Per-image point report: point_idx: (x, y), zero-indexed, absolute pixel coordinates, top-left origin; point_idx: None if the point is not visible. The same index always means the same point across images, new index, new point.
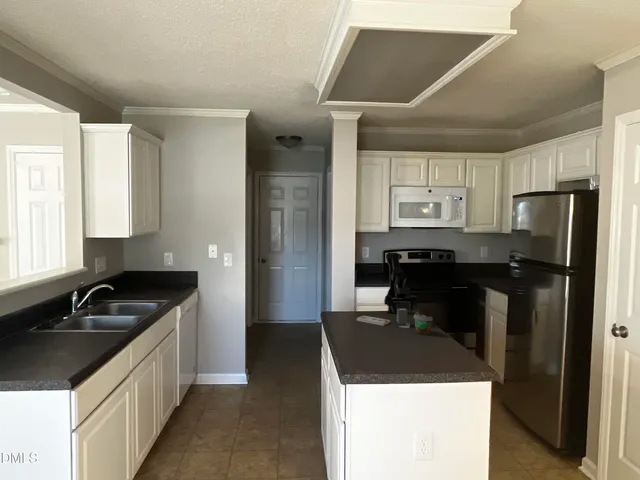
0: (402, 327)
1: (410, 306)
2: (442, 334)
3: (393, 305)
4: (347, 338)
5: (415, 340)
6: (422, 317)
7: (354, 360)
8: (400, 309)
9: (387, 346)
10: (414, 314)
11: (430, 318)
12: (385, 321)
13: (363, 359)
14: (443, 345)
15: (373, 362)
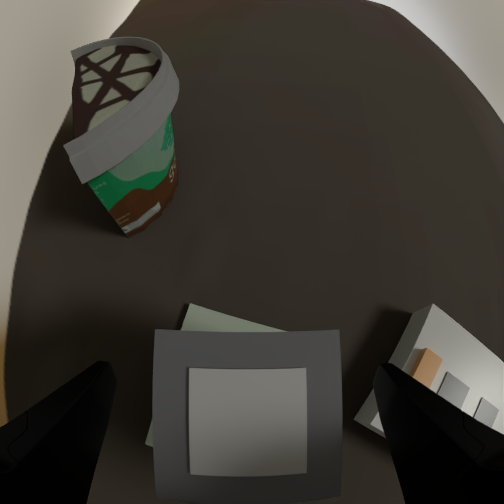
0: (250, 323)
1: (49, 426)
2: (45, 168)
3: (456, 433)
4: (487, 130)
5: (232, 75)
6: (137, 43)
7: (401, 25)
8: (294, 387)
9: (351, 48)
10: (150, 103)
11: (89, 51)
12: (418, 357)
13: (387, 22)
14: None
15: (365, 12)
